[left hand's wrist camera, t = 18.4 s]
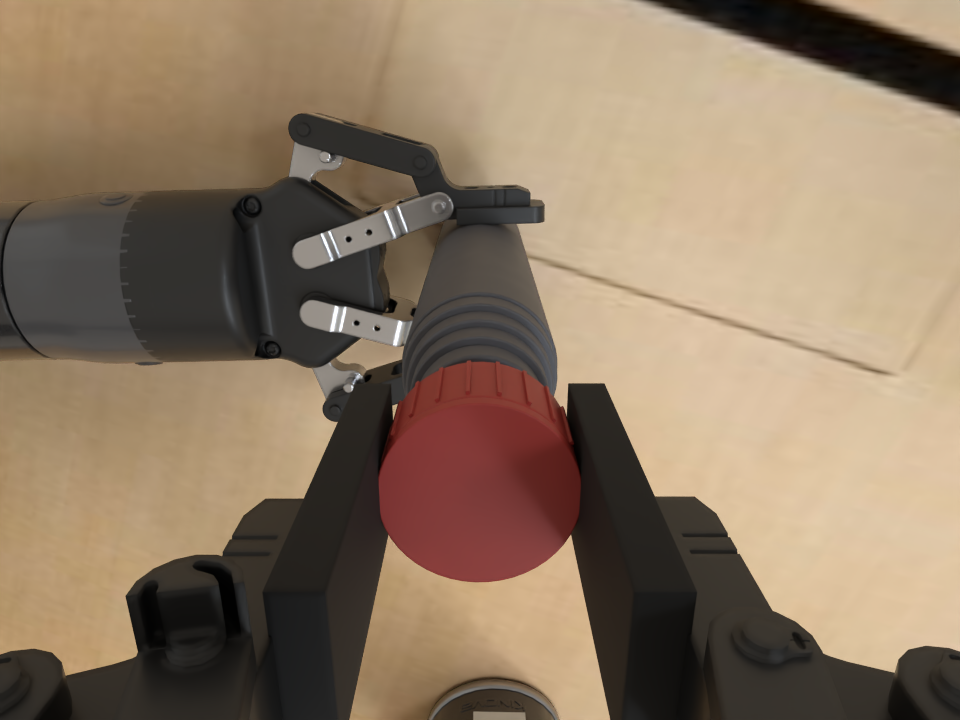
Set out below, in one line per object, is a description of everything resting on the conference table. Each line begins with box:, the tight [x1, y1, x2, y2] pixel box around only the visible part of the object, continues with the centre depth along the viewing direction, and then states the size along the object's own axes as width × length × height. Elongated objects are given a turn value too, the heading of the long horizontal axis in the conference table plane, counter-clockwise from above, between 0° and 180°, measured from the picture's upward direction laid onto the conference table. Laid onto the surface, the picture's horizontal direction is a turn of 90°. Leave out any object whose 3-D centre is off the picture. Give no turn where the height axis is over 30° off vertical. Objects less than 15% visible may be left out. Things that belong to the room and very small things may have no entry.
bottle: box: [402, 220, 557, 397], centre depth 25 cm, size 4×4×24 cm
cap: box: [378, 360, 581, 582], centre depth 14 cm, size 4×4×2 cm
